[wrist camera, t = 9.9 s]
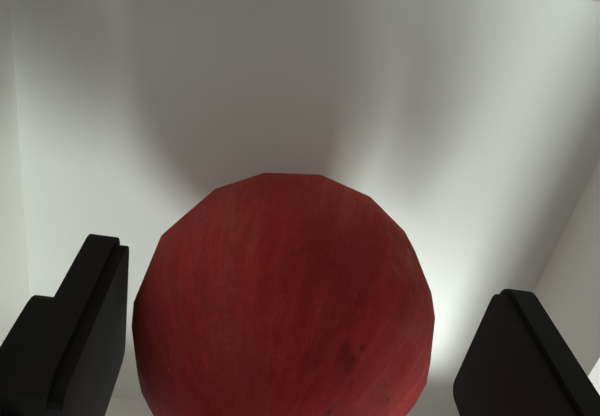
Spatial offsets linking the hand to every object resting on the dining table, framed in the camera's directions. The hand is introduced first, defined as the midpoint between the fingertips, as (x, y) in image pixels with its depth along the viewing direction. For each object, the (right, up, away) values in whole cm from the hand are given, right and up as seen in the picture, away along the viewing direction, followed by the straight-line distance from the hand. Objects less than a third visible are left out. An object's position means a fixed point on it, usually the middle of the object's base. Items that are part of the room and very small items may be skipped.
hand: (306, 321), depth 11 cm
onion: (0, +2, +3) cm, 4 cm away
